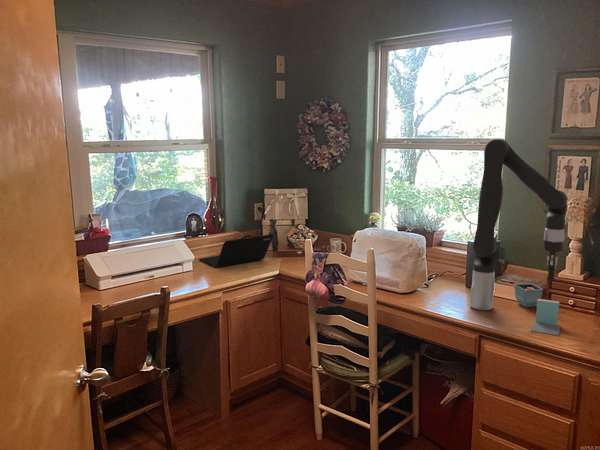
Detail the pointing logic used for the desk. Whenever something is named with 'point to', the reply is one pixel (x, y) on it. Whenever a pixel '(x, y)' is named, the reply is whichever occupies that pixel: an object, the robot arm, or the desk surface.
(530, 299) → the flower pot
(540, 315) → the tile
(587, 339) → the desk surface
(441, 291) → the desk surface
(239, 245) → the laptop
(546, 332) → the mat
